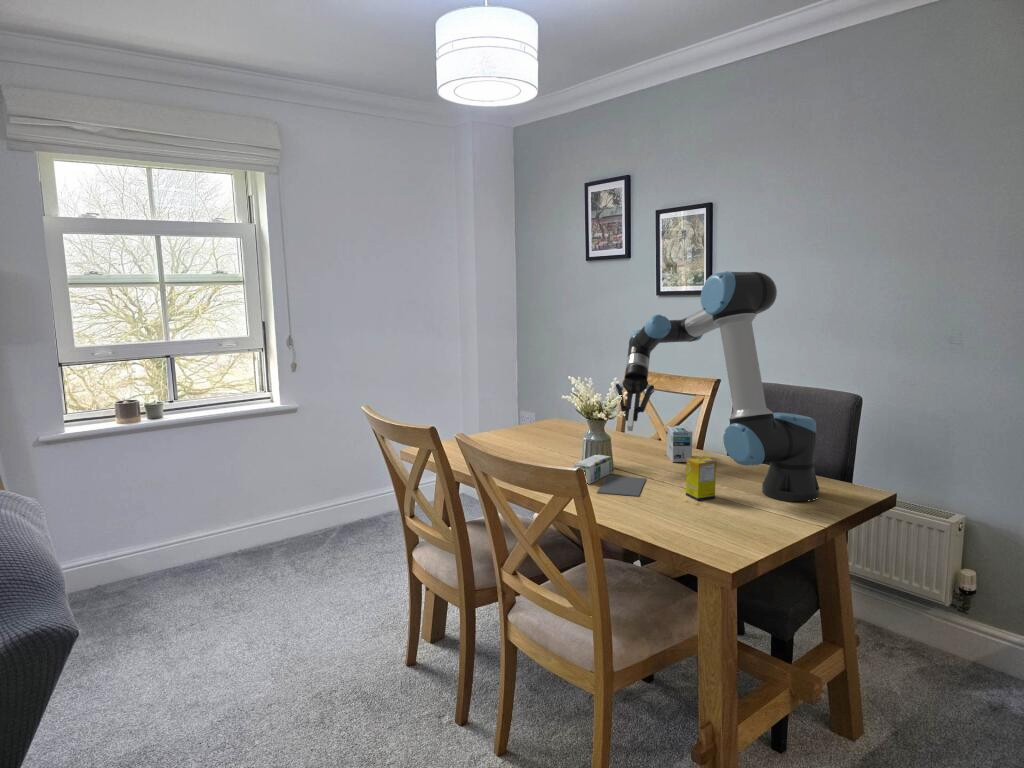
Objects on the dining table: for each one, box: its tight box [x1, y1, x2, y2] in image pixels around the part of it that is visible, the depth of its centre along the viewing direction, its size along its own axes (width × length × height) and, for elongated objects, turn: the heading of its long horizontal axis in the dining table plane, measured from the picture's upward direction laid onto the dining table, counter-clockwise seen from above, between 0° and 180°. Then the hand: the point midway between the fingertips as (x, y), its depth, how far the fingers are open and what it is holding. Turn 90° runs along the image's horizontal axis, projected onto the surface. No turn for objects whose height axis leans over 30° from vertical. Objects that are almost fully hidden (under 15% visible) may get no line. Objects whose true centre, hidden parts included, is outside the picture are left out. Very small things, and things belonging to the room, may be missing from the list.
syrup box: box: [573, 454, 613, 485], centre depth 212 cm, size 6×6×14 cm
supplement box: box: [685, 456, 717, 502], centre depth 192 cm, size 6×6×11 cm
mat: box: [596, 475, 647, 498], centre depth 203 cm, size 18×12×1 cm, turn 162°
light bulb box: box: [666, 425, 693, 463], centre depth 233 cm, size 11×7×11 cm, turn 179°
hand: (630, 428), depth 216 cm, fingers closed
